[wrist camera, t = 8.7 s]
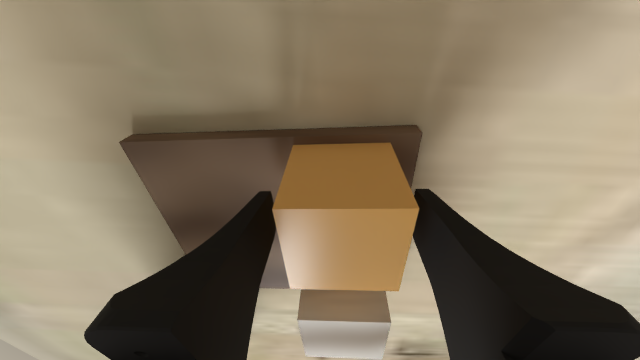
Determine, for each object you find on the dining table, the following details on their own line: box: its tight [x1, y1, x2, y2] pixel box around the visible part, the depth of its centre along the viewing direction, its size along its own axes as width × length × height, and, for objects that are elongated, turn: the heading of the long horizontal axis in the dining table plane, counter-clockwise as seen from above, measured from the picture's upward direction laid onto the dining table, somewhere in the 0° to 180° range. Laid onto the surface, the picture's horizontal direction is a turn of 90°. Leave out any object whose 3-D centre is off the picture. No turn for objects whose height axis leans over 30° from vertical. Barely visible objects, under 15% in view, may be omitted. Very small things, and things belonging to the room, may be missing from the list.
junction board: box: [119, 125, 422, 359], centre depth 15 cm, size 14×16×6 cm
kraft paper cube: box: [272, 143, 419, 291], centre depth 12 cm, size 5×5×5 cm
